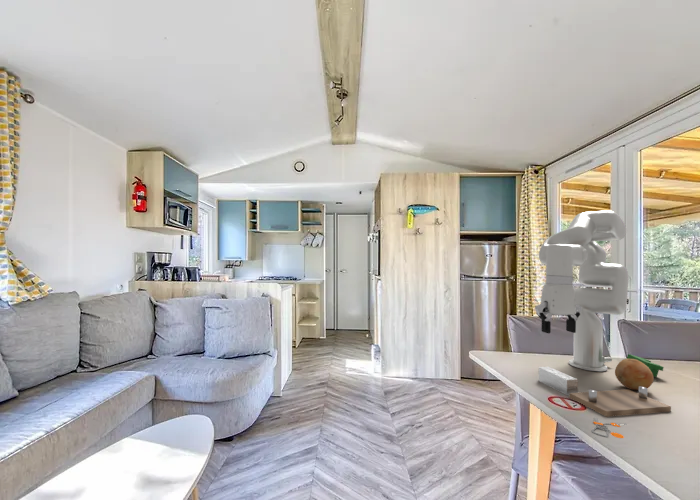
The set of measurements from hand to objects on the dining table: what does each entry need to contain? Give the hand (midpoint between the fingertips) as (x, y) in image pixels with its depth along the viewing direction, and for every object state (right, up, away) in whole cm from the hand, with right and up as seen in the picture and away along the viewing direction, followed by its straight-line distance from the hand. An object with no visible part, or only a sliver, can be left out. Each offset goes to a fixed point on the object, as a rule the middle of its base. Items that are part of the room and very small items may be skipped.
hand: (558, 332), depth 110 cm
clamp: (+43, -20, +15) cm, 50 cm away
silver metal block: (0, -19, 0) cm, 19 cm away
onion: (+25, -19, 0) cm, 32 cm away
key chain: (-4, -19, -26) cm, 32 cm away
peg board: (+10, -19, -12) cm, 24 cm away
